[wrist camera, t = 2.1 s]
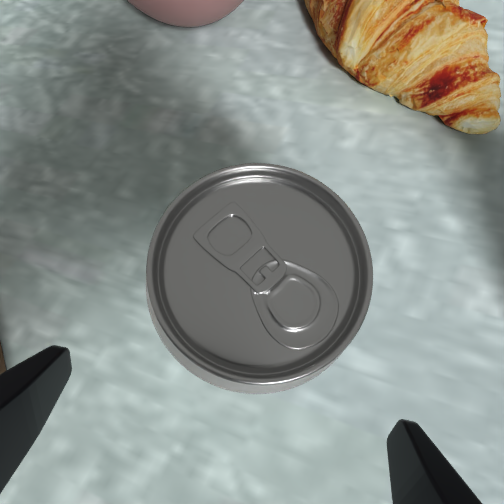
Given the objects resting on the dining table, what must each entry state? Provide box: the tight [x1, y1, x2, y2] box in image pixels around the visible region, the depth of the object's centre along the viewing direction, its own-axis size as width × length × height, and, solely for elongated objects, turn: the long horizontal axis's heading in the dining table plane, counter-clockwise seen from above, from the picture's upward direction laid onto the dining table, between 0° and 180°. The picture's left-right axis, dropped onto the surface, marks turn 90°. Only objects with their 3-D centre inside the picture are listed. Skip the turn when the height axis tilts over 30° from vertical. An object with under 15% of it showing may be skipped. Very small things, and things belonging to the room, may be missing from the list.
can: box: [146, 163, 373, 394], centre depth 14 cm, size 6×6×12 cm
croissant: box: [304, 0, 501, 134], centre depth 23 cm, size 21×10×8 cm, turn 39°
